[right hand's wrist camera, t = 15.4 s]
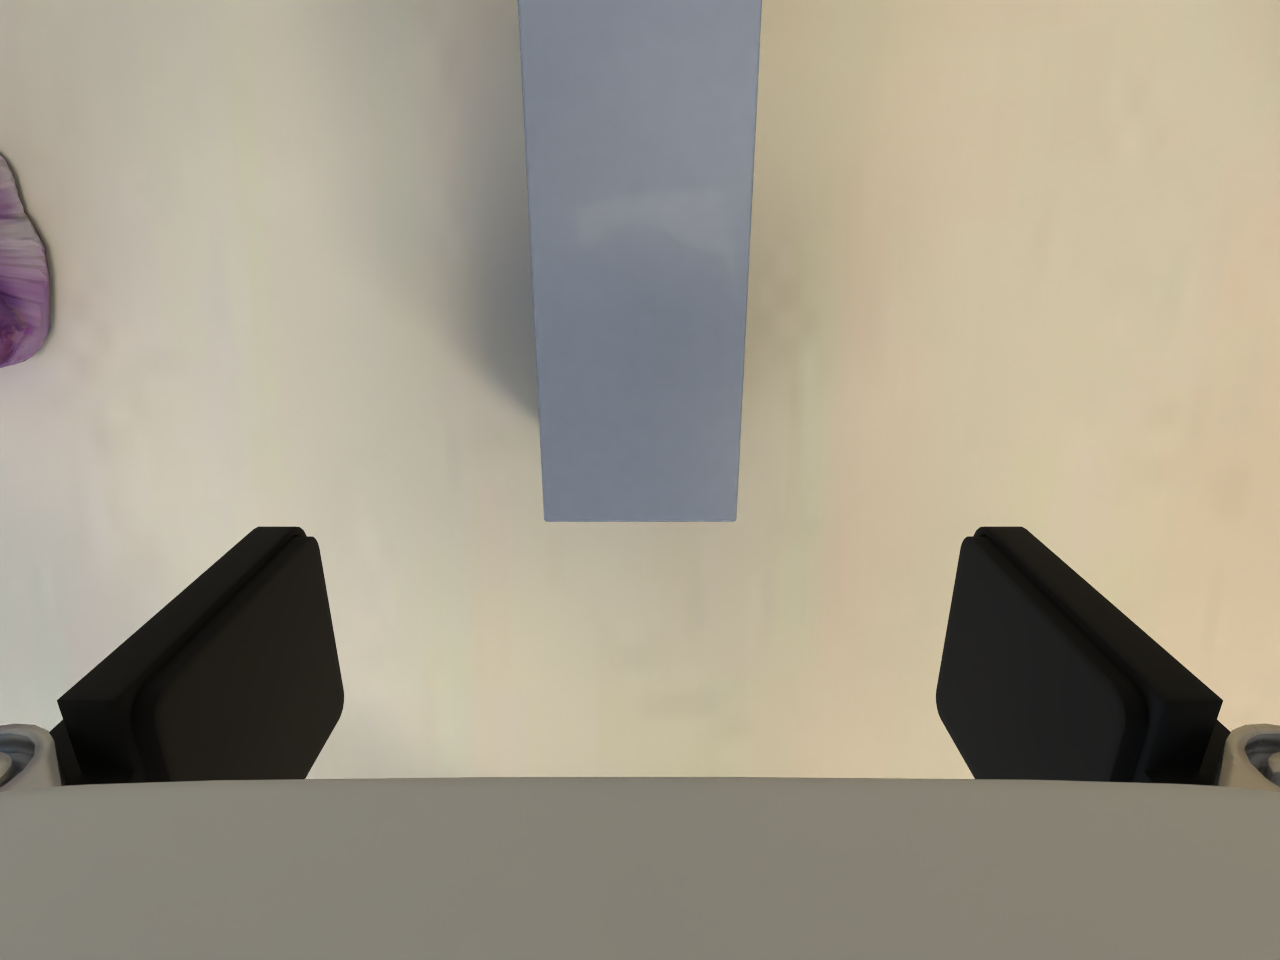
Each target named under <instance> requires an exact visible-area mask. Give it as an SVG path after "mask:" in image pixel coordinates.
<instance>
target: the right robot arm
mask: <svg viewBox="0 0 1280 960" xmlns="http://www.w3.org/2000/svg"><path fill="white" fill-rule="evenodd" d="M57 702H58V705H59V708H60V711H61V714H62V717H63V720H62V721H61V722H60V723H59V724H58V725H57V726H56V727H54V728H53V729H52V730H51V731H50V732H49V731H48V730H46V729H43V728H41V727H38V726H36V725H27V724H9V725H2V726H0V960H1280V726H1278V725H1271V724H1253V725H1244V726H1242V727H1239V728H1237V729H1234V730H1232V731H1231V732H1230V731H1229V730H1228V729H1227V728H1226V727H1224V726H1223V725H1222V724H1221V723H1220V722H1219V721H1218V720H1217V717H1218V714H1219V711H1220V708H1221V705H1222V702H1223V700H1222V699H1221V698H1220V697H1218V696H1217V695H1216V694H1215V693H1214V692H1213V691H1212V690H1210V689H1209V688H1208V687H1207V686H1206V685H1205V684H1204V683H1202V682H1201V681H1200V680H1199V679H1198V678H1197V677H1195V676H1194V675H1193V674H1192V673H1191V672H1190V671H1189V670H1187V669H1186V668H1185V667H1184V666H1183V665H1182V664H1181V663H1179V662H1178V661H1177V660H1176V659H1175V658H1174V657H1172V656H1171V655H1170V654H1169V653H1168V652H1167V651H1166V650H1164V649H1163V648H1162V647H1161V646H1160V645H1159V644H1158V643H1156V642H1155V641H1154V640H1153V639H1152V638H1151V637H1150V636H1148V635H1147V634H1146V633H1145V632H1144V631H1143V630H1141V629H1140V628H1139V627H1138V626H1137V625H1136V624H1135V623H1133V622H1132V621H1131V620H1130V619H1129V618H1128V617H1127V616H1125V615H1124V614H1123V613H1122V612H1121V611H1120V610H1118V609H1117V608H1116V607H1115V606H1114V605H1113V604H1112V603H1110V602H1109V601H1108V600H1107V599H1106V598H1105V597H1104V596H1102V595H1101V594H1100V593H1099V592H1098V591H1097V590H1095V589H1094V588H1093V587H1092V586H1091V585H1090V584H1089V583H1087V582H1086V581H1085V580H1084V579H1083V578H1082V577H1081V576H1079V575H1078V574H1077V573H1076V572H1075V571H1074V570H1072V569H1071V568H1070V567H1069V566H1068V565H1067V564H1066V563H1064V562H1063V561H1062V560H1061V559H1060V558H1059V557H1058V556H1056V555H1055V554H1054V553H1053V552H1052V551H1051V550H1050V549H1048V548H1047V547H1046V546H1045V545H1044V544H1043V543H1041V542H1040V541H1039V540H1038V539H1037V538H1036V537H1035V536H1033V535H1032V534H1031V533H1030V532H1029V531H1028V530H1027V529H1025V528H1023V527H980V528H979V529H978V530H976V532H975V534H974V536H973V537H966V538H965V539H964V541H963V542H962V545H961V549H960V555H959V561H958V567H957V573H956V579H955V585H954V590H953V596H952V602H951V608H950V614H949V620H948V626H947V631H946V637H945V643H944V649H943V655H942V661H941V667H940V673H939V678H938V684H937V690H936V704H937V709H938V713H939V716H940V718H941V720H942V722H943V724H944V725H945V727H946V729H947V731H948V732H949V734H950V736H951V738H952V739H953V741H954V743H955V745H956V746H957V748H958V750H959V752H960V753H961V755H962V757H963V759H964V760H965V762H966V764H967V766H968V767H969V769H970V771H971V773H972V774H973V776H974V778H975V779H885V778H771V777H476V778H387V779H305V778H306V776H307V774H308V773H309V771H310V769H311V767H312V766H313V764H314V762H315V760H316V759H317V757H318V755H319V753H320V752H321V750H322V748H323V746H324V745H325V743H326V741H327V739H328V738H329V736H330V734H331V732H332V731H333V729H334V727H335V725H336V724H337V722H338V720H339V718H340V716H341V713H342V709H343V704H344V690H343V684H342V678H341V673H340V667H339V661H338V655H337V649H336V643H335V637H334V631H333V626H332V620H331V614H330V608H329V602H328V596H327V590H326V585H325V579H324V573H323V567H322V561H321V555H320V549H319V545H318V542H317V541H316V539H315V538H314V537H307V536H306V534H305V532H304V530H302V529H301V528H300V527H257V528H255V529H253V530H252V531H251V532H250V533H249V534H248V535H247V536H245V537H244V538H243V539H242V540H241V541H240V542H239V543H237V544H236V545H235V546H234V547H233V548H232V549H230V550H229V551H228V552H227V553H226V554H225V555H224V556H222V557H221V558H220V559H219V560H218V561H217V562H216V563H214V564H213V565H212V566H211V567H210V568H209V569H208V570H206V571H205V572H204V573H203V574H202V575H201V576H199V577H198V578H197V579H196V580H195V581H194V582H193V583H191V584H190V585H189V586H188V587H187V588H186V589H185V590H183V591H182V592H181V593H180V594H179V595H178V596H176V597H175V598H174V599H173V600H172V601H171V602H170V603H168V604H167V605H166V606H165V607H164V608H163V609H162V610H160V611H159V612H158V613H157V614H156V615H155V616H153V617H152V618H151V619H150V620H149V621H148V622H147V623H145V624H144V625H143V626H142V627H141V628H140V629H139V630H137V631H136V632H135V633H134V634H133V635H132V636H130V637H129V638H128V639H127V640H126V641H125V642H124V643H122V644H121V645H120V646H119V647H118V648H117V649H116V650H114V651H113V652H112V653H111V654H110V655H109V656H107V657H106V658H105V659H104V660H103V661H102V662H101V663H99V664H98V665H97V666H96V667H95V668H94V669H93V670H91V671H90V672H89V673H88V674H87V675H86V676H85V677H83V678H82V679H81V680H80V681H79V682H78V683H76V684H75V685H74V686H73V687H72V688H71V689H70V690H68V691H67V692H66V693H65V694H64V695H63V696H62V697H60V698H59V699H58V700H57Z"/></svg>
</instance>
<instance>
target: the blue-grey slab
mask: <svg viewBox="0 0 1280 960" xmlns="http://www.w3.org/2000/svg"><path fill="white" fill-rule="evenodd" d="M761 9H762V0H518V11H519V31H520V51H521V70H522V90H523V110H524V129H525V149H526V169H527V188H528V208H529V228H530V248H531V267H532V287H533V307H534V326H535V346H536V366H537V386H538V405H539V425H540V445H541V464H542V484H543V504H544V520H545V521H546V522H696V521H736V515H737V495H738V475H739V455H740V434H741V414H742V394H743V374H744V353H745V333H746V313H747V293H748V272H749V252H750V232H751V212H752V192H753V171H754V151H755V131H756V111H757V90H758V70H759V50H760V30H761Z"/></svg>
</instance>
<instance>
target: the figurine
mask: <svg viewBox="0 0 1280 960" xmlns="http://www.w3.org/2000/svg"><path fill="white" fill-rule="evenodd" d="M45 250H46V248H45V246H44V245H43V243H42V242H41V240H40V238H39V236H38V234H37V232H36V230H35V228H34V227H33V225H32V223H31V222H30V220H29V218H28V216H27V215H26V214H25V213H24V211H23V206H22V203H21V201H20V199H19V197H18V190H17V188H16V186H15V179H14V177H13V175H12V173H11V171H10V169H9V167H8V165H7V163H6V161H5V159H4V158H3V157H2V156H0V368H1V367H5V366H9V365H13V364H17V363H20V362H23V361H25V360H27V359H29V358H30V357H32V356H33V355H34V354H35V353H36V352H37V351H38V350H39V348H40V347H41V346H42V344H43V342H44V341H45V339H46V337H47V335H48V332H49V329H50V323H49V301H50V297H49V273H48V267H47V262H46V256H45Z"/></svg>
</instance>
